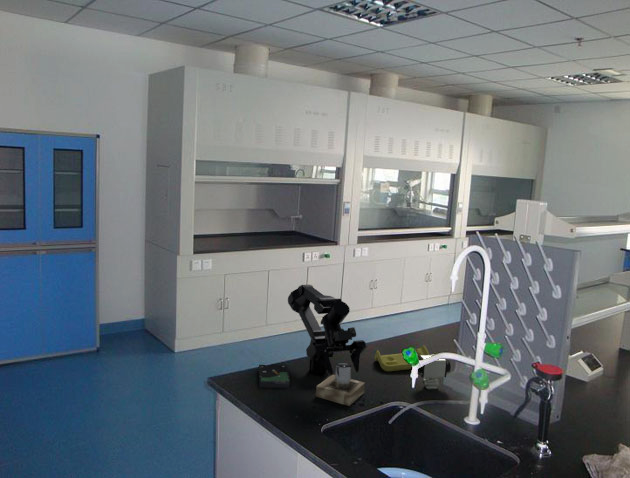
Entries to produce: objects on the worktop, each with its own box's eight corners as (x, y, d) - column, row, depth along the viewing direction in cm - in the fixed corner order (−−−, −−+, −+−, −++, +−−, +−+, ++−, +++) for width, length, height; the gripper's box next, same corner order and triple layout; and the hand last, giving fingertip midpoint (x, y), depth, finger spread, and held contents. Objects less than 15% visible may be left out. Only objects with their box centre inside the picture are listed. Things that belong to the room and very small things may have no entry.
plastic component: (384, 367, 190) (375, 347, 198) (381, 380, 194) (373, 360, 202) (433, 361, 194) (423, 342, 202) (429, 374, 198) (419, 355, 206)
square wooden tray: (315, 396, 167) (316, 385, 166) (332, 383, 177) (332, 373, 177) (349, 406, 161) (350, 395, 161) (364, 392, 172) (364, 382, 171)
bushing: (331, 392, 170) (333, 364, 169) (344, 390, 173) (346, 362, 171) (338, 399, 166) (340, 369, 164) (352, 396, 168) (354, 367, 167)
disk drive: (258, 371, 186) (259, 388, 171) (258, 364, 185) (259, 380, 171) (286, 371, 187) (290, 388, 173) (286, 364, 187) (290, 380, 172)
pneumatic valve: (448, 390, 178) (452, 357, 176) (416, 390, 176) (419, 357, 174) (442, 383, 183) (445, 351, 182) (411, 383, 181) (414, 351, 180)
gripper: (315, 320, 166) (327, 366, 157) (366, 317, 173) (380, 360, 164) (305, 336, 174) (315, 380, 165) (353, 332, 181) (366, 374, 173)
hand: (345, 373), depth 167 cm, fingers open, 9 cm apart
